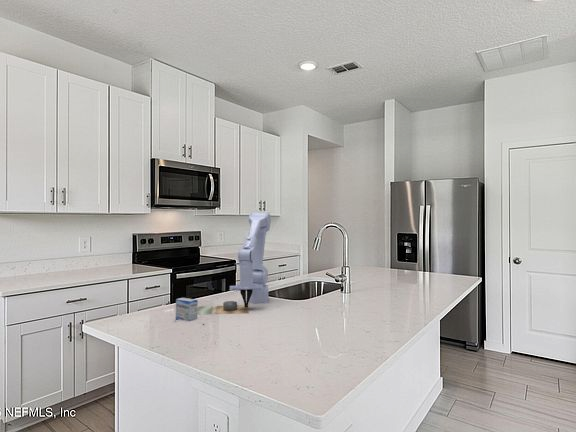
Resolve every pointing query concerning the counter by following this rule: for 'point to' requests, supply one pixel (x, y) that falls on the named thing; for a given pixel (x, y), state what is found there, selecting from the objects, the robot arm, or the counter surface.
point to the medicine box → (186, 309)
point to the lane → (220, 310)
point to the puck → (230, 306)
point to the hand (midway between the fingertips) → (246, 306)
